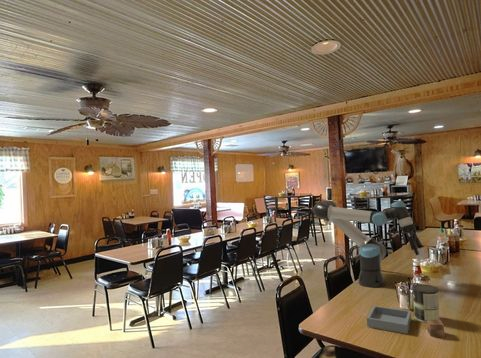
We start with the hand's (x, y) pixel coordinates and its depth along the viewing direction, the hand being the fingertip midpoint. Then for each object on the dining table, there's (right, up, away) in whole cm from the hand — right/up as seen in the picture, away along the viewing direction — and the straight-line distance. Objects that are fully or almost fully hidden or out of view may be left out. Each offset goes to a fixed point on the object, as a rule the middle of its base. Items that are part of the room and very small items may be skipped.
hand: (422, 259), depth 193 cm
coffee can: (-23, -16, -44) cm, 52 cm away
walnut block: (-28, -16, -59) cm, 67 cm away
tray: (-41, -17, -46) cm, 64 cm away
